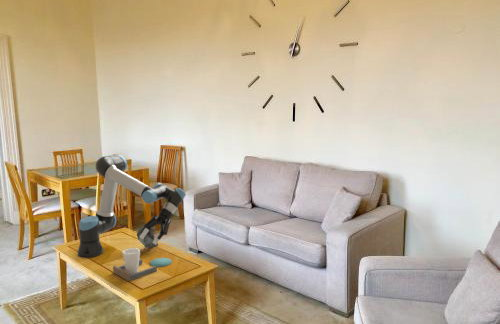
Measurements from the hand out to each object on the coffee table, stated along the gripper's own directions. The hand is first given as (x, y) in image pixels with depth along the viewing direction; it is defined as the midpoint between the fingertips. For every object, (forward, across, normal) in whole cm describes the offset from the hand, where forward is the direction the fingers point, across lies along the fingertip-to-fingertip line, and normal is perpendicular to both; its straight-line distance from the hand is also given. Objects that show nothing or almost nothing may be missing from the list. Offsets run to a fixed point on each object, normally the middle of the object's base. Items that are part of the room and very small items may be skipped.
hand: (147, 240), depth 221 cm
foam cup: (+19, 0, -4) cm, 20 cm away
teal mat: (+5, 0, -18) cm, 18 cm away
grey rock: (0, +26, -24) cm, 35 cm away
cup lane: (+17, 0, -6) cm, 18 cm away
